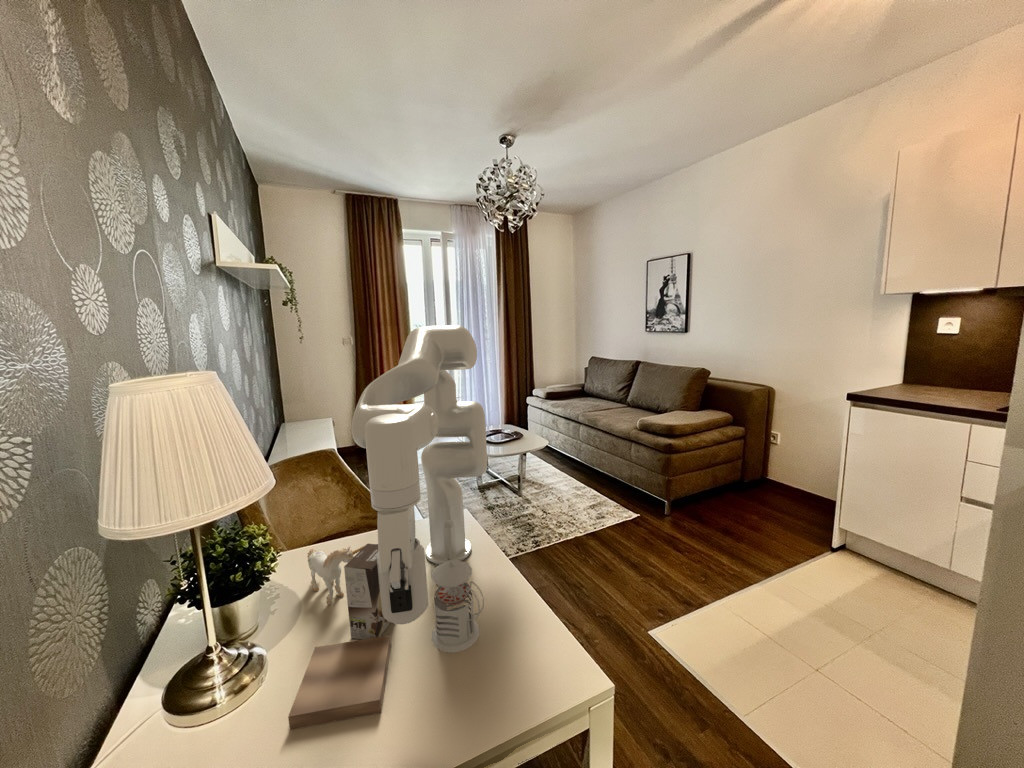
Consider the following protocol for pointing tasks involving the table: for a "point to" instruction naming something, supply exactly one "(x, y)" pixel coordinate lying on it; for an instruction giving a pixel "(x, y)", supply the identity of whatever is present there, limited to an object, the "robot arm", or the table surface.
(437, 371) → the robot arm
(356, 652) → the riser
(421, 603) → the can
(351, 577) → the coffee box
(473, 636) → the french press
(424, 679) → the table surface
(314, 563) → the unicorn figurine
